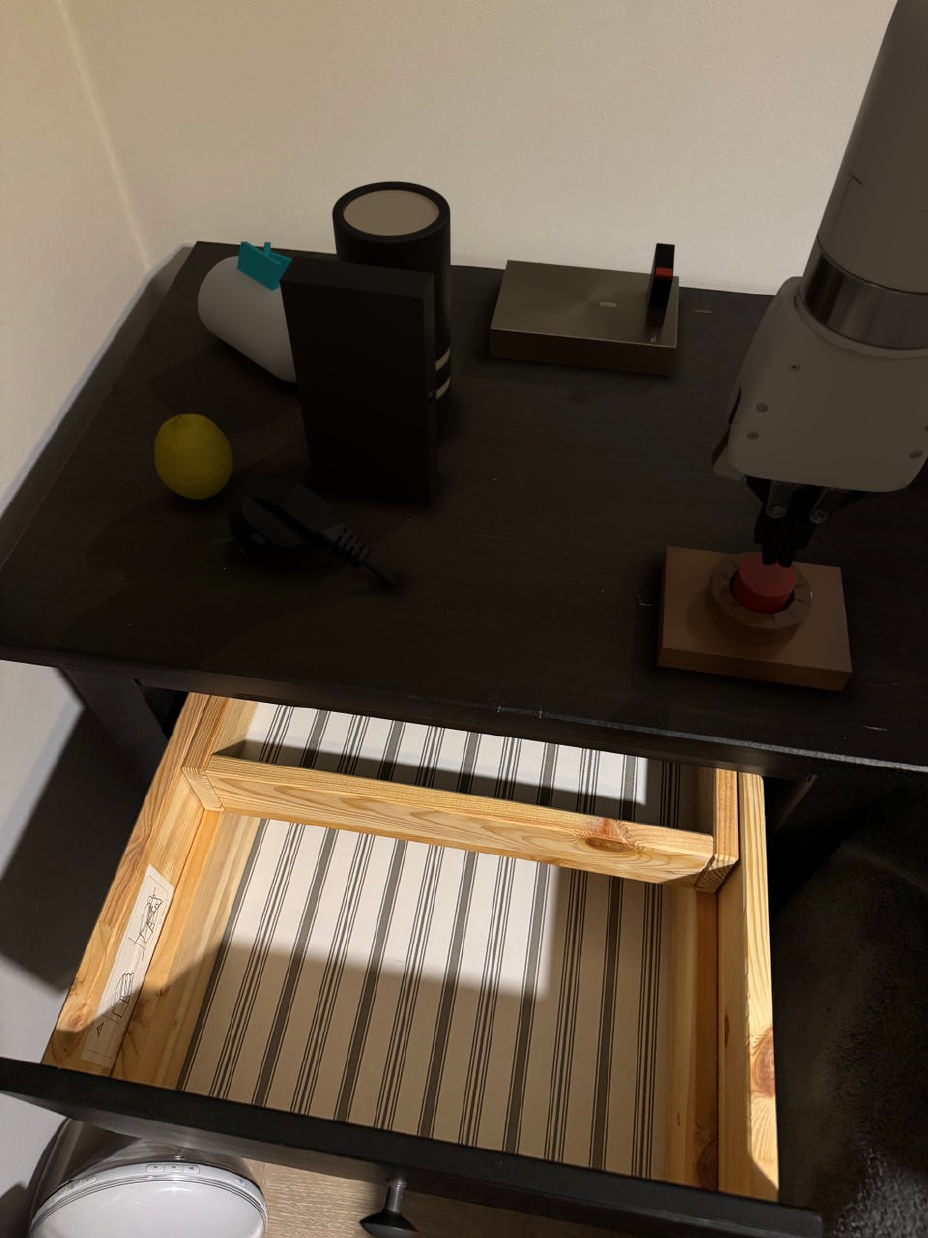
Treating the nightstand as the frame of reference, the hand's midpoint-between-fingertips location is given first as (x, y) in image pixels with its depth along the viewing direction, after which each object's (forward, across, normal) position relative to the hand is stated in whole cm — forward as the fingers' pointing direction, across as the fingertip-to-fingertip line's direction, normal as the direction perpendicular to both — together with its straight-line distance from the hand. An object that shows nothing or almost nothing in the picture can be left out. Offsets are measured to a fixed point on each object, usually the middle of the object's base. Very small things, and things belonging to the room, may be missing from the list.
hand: (774, 549), depth 56 cm
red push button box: (+8, 0, 0) cm, 8 cm away
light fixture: (+8, +28, -15) cm, 32 cm away
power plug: (+8, +30, -1) cm, 31 cm away
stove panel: (+8, +12, -32) cm, 35 cm away
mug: (+8, +39, -25) cm, 47 cm away
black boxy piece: (+5, +8, -32) cm, 33 cm away
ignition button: (+4, 0, 0) cm, 4 cm away
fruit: (+8, +41, -6) cm, 42 cm away
